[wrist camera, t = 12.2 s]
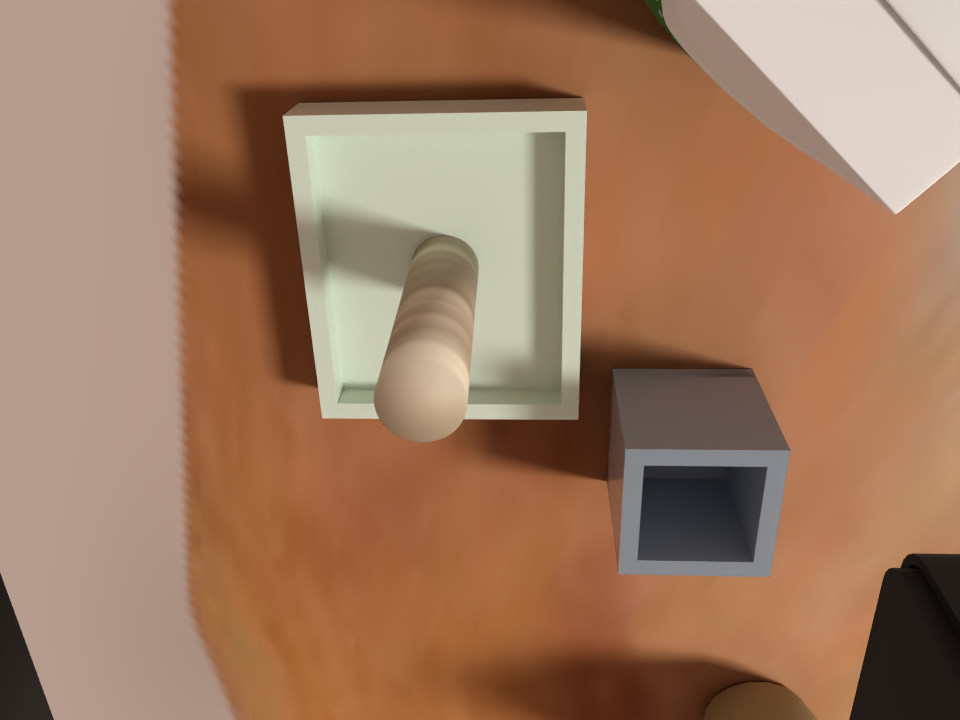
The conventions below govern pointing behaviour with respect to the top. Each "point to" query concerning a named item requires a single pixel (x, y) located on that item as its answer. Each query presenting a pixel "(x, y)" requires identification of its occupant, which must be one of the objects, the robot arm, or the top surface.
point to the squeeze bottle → (757, 704)
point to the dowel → (430, 344)
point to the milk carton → (839, 80)
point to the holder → (694, 472)
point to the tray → (444, 211)
